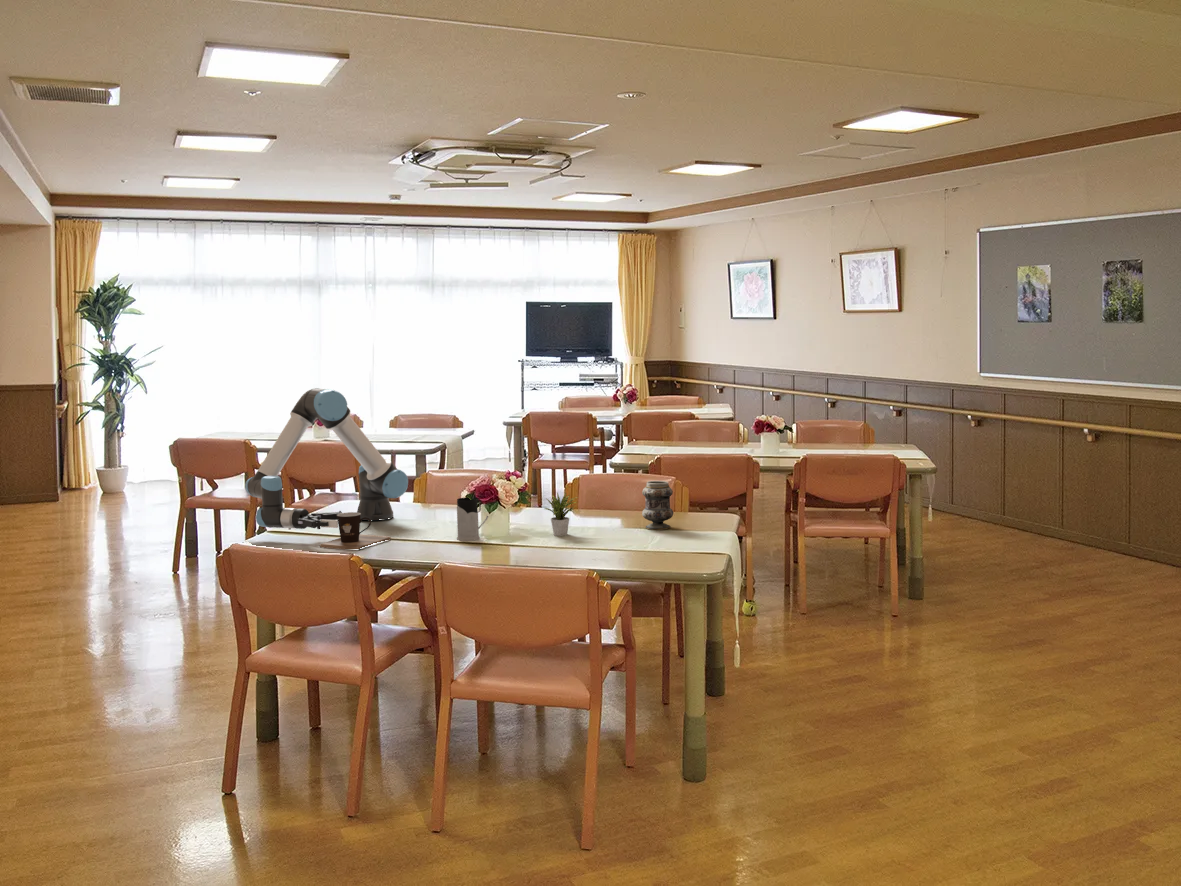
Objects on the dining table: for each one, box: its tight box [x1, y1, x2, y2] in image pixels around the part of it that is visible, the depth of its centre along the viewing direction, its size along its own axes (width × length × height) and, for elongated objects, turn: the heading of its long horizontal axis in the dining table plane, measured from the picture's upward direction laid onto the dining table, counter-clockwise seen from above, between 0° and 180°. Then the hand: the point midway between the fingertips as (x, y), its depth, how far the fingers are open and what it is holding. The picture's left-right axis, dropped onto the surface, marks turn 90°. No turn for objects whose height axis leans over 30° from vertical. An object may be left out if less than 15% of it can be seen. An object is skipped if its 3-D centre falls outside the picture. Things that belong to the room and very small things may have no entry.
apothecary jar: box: [641, 480, 674, 531], centre depth 429 cm, size 12×12×18 cm
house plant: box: [544, 492, 578, 537], centre depth 418 cm, size 14×14×16 cm
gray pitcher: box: [456, 497, 489, 542], centre depth 417 cm, size 9×14×15 cm, turn 127°
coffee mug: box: [337, 511, 372, 543], centre depth 408 cm, size 12×9×10 cm
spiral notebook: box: [319, 533, 392, 550], centre depth 410 cm, size 20×17×1 cm
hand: (346, 520), depth 410 cm, fingers open, 13 cm apart
